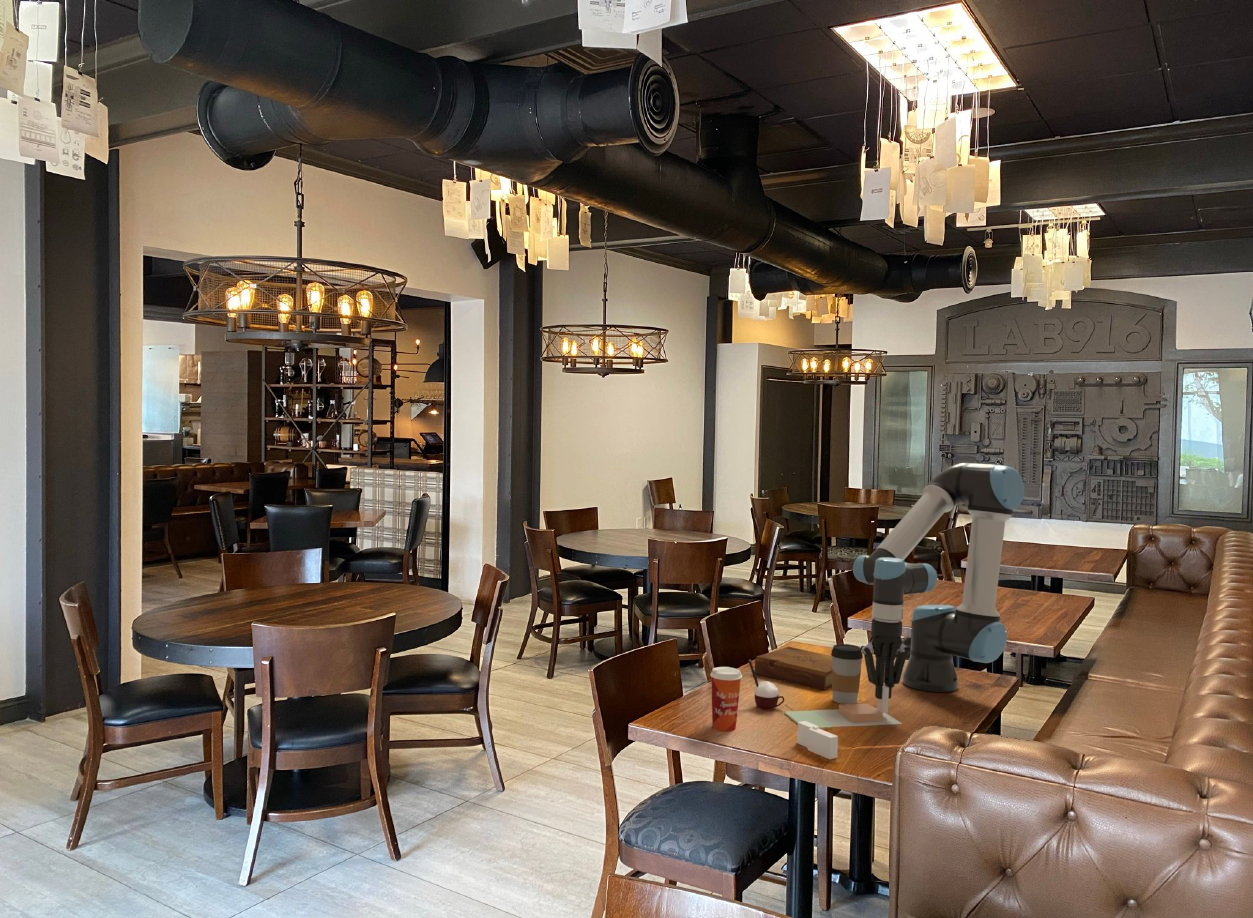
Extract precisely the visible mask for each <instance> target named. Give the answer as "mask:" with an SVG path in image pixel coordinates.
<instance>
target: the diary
mask: <svg viewBox="0 0 1253 918" xmlns="http://www.w3.org/2000/svg"><path fill="white" fill-rule="evenodd" d="M754 671H755V674H756V676H757V675H759V676H762V677H766V678H771V679H774V678H775V680H780V681H782V682H783V681H784V682H786V683H787V682H788V683H791V684H794V685H800V686H804V687H807V688H812V689H816V690H820V691H827V690H830V689H832V656H831V654H824V653H820V652H814V651H811V650H805V649H802V648H797V647H791V646H786V647H784V648H780V649H777V650H774V651H770V652H767V653H763V654H761V655H757V656H756V657H755V659H754Z"/></svg>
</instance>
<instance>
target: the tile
mask: <svg viewBox="0 0 1253 918" xmlns="http://www.w3.org/2000/svg"><path fill="white" fill-rule="evenodd" d="M876 708H877V707H874V706H873V705H871V704H869V703H855V704H838V709H839V713H841V714H842V715H843V716H845V717H846V718H848V719H849V720H851V721H852V722H870V721H882V720H883V713H882V712H880V711H879V710H877V709H876Z"/></svg>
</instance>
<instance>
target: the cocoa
mask: <svg viewBox="0 0 1253 918" xmlns="http://www.w3.org/2000/svg"><path fill="white" fill-rule="evenodd" d="M748 664H749V665H748V666H749V668H750V671H751V674H752V676H753V680H754V683H755V687H754V702H755V705H756V706H757V707H758V708H759V709H761V710H764V711H766V710H767V711H770V710H774V709H775V708H778V707H779V706H781V705H782V704H784V702H785V698H784V696H782V695H779V689H778V688H777V686H776V685H775V684H774V683H772V682H771V681H760V682H759V681H758V679H757V674H755V667H754V665H753V663H752V660H751V659H749V660H748ZM779 699H782V700H781V702H779ZM778 702H779V703H778Z"/></svg>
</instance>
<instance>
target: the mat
mask: <svg viewBox="0 0 1253 918" xmlns="http://www.w3.org/2000/svg"><path fill="white" fill-rule="evenodd" d="M875 708H876V709H877V707H875ZM783 714H784V715H786V716H787V717H788V718H789V719H791V720H792V721H793V722H794V723H795V724H797V725H798V722H802V721H807V722H809V723H812V724H814V725H817V726H819V729H821V728H822V729H823V728H838V727H839V728H842V727H859V726H860V727H861V726H863V727H865V726H866V727H867V726H883V725H884V726H886V725H903V723H902V722H900V721H899V720H897V719H896V718H894V717H893V716H891V715H889V714H888V713H883V720H882V721H870V722H852V721H851V720H849V719H848V718H846V717H845V716H843V715H842V714H841V713H839V708H838V709H834V708H832V709H815V710H792V711H784V712H783Z"/></svg>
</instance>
